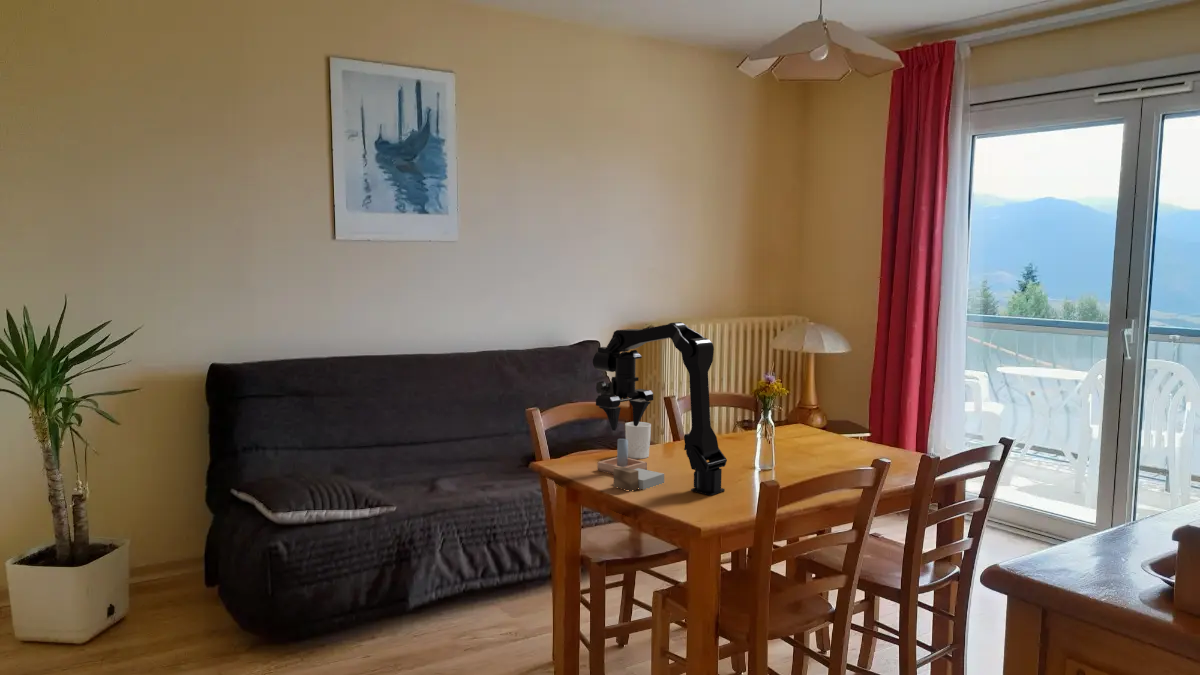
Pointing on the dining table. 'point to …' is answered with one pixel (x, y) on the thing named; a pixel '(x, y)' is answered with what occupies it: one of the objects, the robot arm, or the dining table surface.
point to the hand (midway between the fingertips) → (624, 428)
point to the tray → (612, 463)
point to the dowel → (622, 452)
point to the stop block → (626, 478)
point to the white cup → (638, 439)
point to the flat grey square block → (649, 478)
